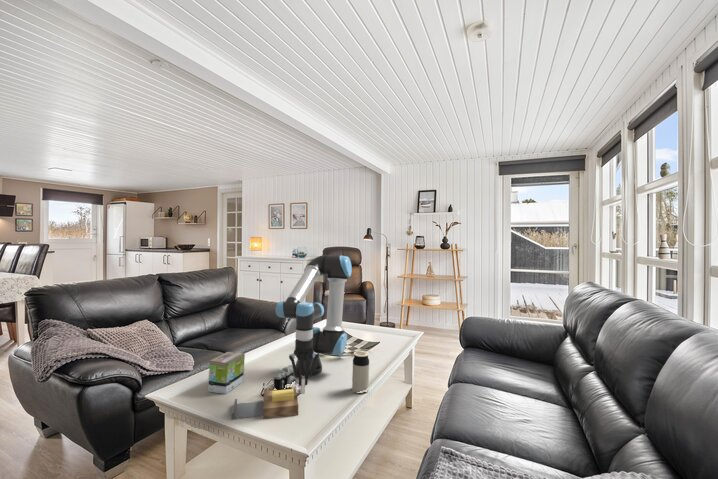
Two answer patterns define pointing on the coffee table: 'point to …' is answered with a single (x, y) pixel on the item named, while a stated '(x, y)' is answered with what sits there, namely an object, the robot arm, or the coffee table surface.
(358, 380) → the travel mug
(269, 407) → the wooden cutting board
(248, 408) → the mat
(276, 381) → the camera
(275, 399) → the yellow sticky note pad
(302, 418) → the coffee table surface
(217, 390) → the tea box
